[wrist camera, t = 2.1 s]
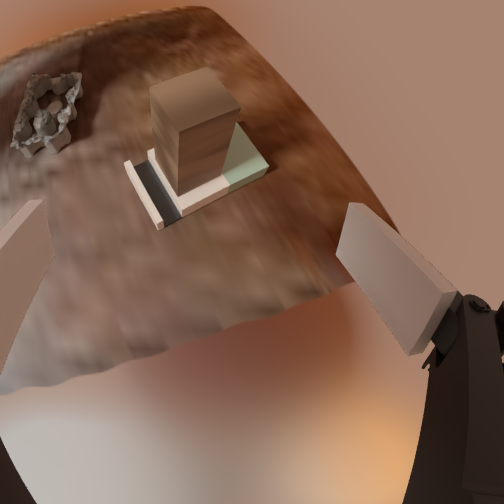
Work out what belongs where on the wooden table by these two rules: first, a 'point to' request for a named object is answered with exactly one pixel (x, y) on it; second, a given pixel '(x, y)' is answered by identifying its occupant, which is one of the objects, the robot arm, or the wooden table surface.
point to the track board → (174, 208)
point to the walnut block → (192, 128)
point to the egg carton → (46, 113)
